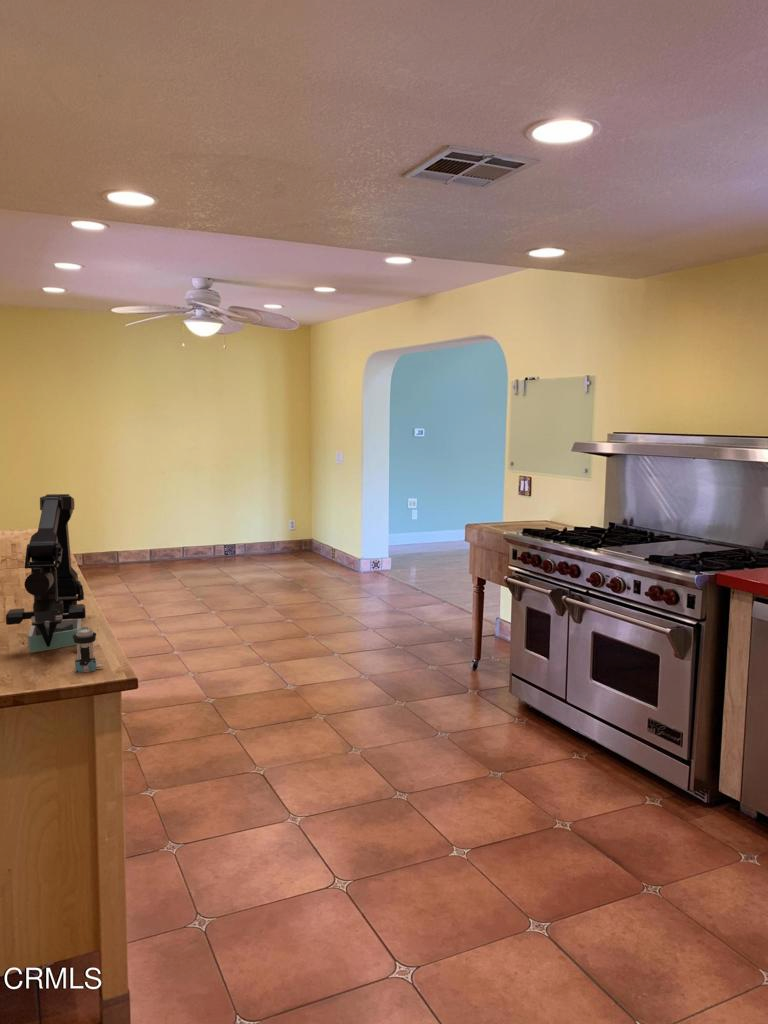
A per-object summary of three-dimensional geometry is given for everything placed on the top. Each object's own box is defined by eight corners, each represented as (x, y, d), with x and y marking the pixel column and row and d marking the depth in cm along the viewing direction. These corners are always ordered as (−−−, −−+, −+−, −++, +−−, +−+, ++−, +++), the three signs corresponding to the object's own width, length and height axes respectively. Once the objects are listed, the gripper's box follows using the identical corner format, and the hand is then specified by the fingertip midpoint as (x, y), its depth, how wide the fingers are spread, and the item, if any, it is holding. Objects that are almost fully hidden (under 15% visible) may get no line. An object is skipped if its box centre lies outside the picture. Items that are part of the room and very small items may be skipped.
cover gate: (29, 651, 199) (28, 636, 199) (81, 642, 208) (80, 628, 207) (30, 652, 198) (29, 637, 198) (82, 643, 207) (81, 629, 206)
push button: (102, 665, 190) (101, 626, 189) (104, 672, 185) (102, 632, 184) (73, 668, 188) (72, 629, 186) (74, 675, 183) (72, 634, 181)
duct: (32, 632, 218) (32, 616, 217) (89, 627, 223) (89, 612, 222) (27, 648, 202) (27, 632, 202) (88, 643, 208) (88, 627, 207)
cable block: (47, 635, 215) (46, 621, 215) (73, 637, 214) (72, 623, 214) (36, 640, 211) (35, 626, 210) (63, 642, 209) (62, 628, 209)
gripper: (1, 596, 187) (5, 658, 189) (83, 590, 193) (86, 650, 195) (6, 588, 197) (10, 646, 199) (84, 582, 204) (86, 639, 206)
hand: (48, 646), depth 199 cm, fingers closed
